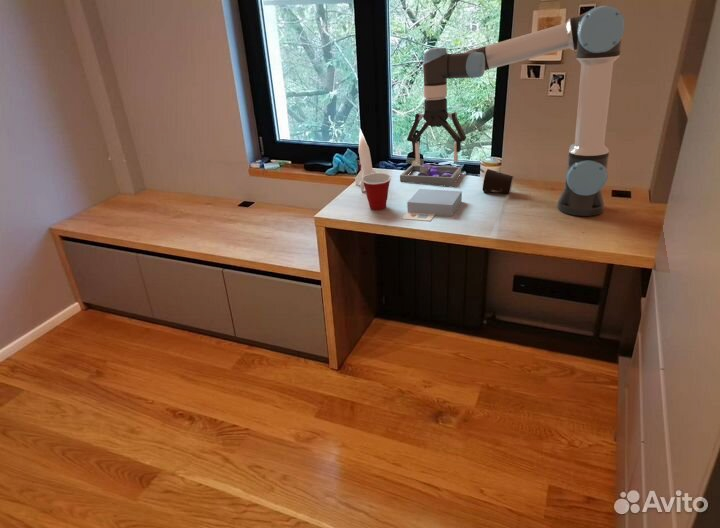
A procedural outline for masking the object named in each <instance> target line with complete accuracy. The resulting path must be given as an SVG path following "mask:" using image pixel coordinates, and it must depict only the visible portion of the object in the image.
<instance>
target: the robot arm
mask: <svg viewBox="0 0 720 528" xmlns="http://www.w3.org/2000/svg"><path fill="white" fill-rule="evenodd" d="M625 27H626V21H625V18H624V16H623V14H622V12H621V11H620V10H619V9H617V8H616V7H614V6H613V5H612V6H611V5H600V6H595V7H593V8H591V9H589V10H588V11H586V12H584V13H582V14H580V15H576V16H574V17H570V18H568V20H567V21H566V22H564V23H561V24H558V25H554V26H551V27H548V28H544V29H541V30H537V31H534V32H530V33H527V34H523V35H520V36H517V37H513V38H509V39H505V40H502V41H499V42H496V43H492V44H489V45H485V46H482V47H478V48H473V49H469V50H468V51H465V52H462V53H461V52H460V53H448V51H447V48H446V47H430V48H427V49H425V50H424V51H423V56H422V57H423V59H422V60H423V63H422V66H423V67H422V68H423V71H422V72H423V97H424V98H425V99H424V100H423V105H424V109H423V110H424V113H421V112H417V113H415V116H414V122H413V124H412V126H411V128H410V131H409V134H408V136H407V138H406V140H407V142H411V144H412V152H414V153H415V155H414V156H415V162H416V163H418V162H420V161H421V158H420V157H421V156H420V155H421V154H420V153H421V152H420V151H421V150H420V141H418V140H419V139H420V137H422V135H423V133H425V131H426V130H427V129H428V127H431V128H434V127H436V128H437V127H438V128H441V127H442V128H443V129H445V130H446V132H447V133H448V134H449V135H450V136H451V138H452V139H453V140H454V142H453V163H457V162H458V161H459V153H460V152H461V151H462V149H461V148H462V144H461V143H462V142H464V141H466V140H467V136H466V134H465V132H464V130H463V128H462V125H461V124H460V122H459V120H458V113H457V112H456V111H454V112H451V113H449V112H448V98H447V95H448V87H447V86H448V84H447V81H448V80H449V79H475V78H481V77H484V76H483V75H484V74H485V71H488V70H491V69H492V70H493V69H495V68H496V69H497V68H499V67H504V66H507V65H511V64H515V63H520V62H522V61H525V60H531V59H533V58H537V57H541V56H542V57H543V56H546V55H548V54H553V53H556V52H560V51H564V50H569V49H570V50H572V51H576V56H575V57H576V58H575V59H576V60H577V61H578V62H579V64H580V73H579V75H580V76H579V85H578V86H579V88H578V89H579V90H578V100H577V112H576V113H577V114H576V124H575V134H574V143H573V144H570V146H569V150H568V157H567V165H566V175H565V184H564V188H563V191H562V192H561V194H560V197H559V199H558V201H557V209H558V211H560V212H562V213H563V214H564V213H565V214H568V215H571V216H582V217H585V216H586V217H588V216H596V215H600V214H602V213H603V212H604V208H605V202H604V196H603V193H602V189H603V188H604V187H605V185H606V183H607V181H608V179H609V176H608V175H609V174H608V164H609V154H610V149H608V147H607V146H606V145H605V143H606V142H605V141H606V132H607V124H608V113H609V106H610V98H611V97H610V96H611V87H612V86H611V85H612V78H613V68H614V62H615V61H617V59H619V58H620V56H621V48H622V42H623V41H622V40H623V39H622V38H623V36H624V34H625V29H626V28H625ZM447 79H448V80H447ZM448 118H449V119H450V120H451V121H452V124H453V126H454V128H455V129H456V131H457V132H456V131H455V130H454V129H453V128H452V127H451V126H452V125H450V124H449V122H448V121H447V119H448ZM422 119H424V121H425V123H424V124H423V126H422V127H421V128H420V130H419V131H418V132H417V128H418V127H419V124H420V122H421V120H422ZM415 133H416V135H415ZM457 133H458V134H457ZM414 135H415V136H414Z"/></svg>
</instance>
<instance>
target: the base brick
mask: <svg viewBox="0 0 720 528" xmlns="http://www.w3.org/2000/svg"><path fill="white" fill-rule="evenodd" d="M462 193H463V192H462V190H446V189H445V190H444V189H431V188H430V189H429V188H427V189H426V188H418V189H417V191H416V192H415V193H414V194H413V195H412V197H411V198H409V200H407V206H406V208H407V212H411V213H424V214H435V216H445V217H453V215H454V214H455V213H456V211H457V210H458V208H459V206H460V205H461V203H462Z"/></svg>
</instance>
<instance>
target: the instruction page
mask: <svg viewBox="0 0 720 528" xmlns="http://www.w3.org/2000/svg"><path fill="white" fill-rule="evenodd" d="M435 216H436V215H435V214H424V213H411V212H408V211H407V212H406V214H404V216H403V217H402V218H401V219H402V220H411V221H420V222H421V221H423V222H424V221H425V222H431V221H432V220H433V218H434V217H435Z"/></svg>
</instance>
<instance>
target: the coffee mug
mask: <svg viewBox="0 0 720 528" xmlns="http://www.w3.org/2000/svg"><path fill="white" fill-rule="evenodd" d="M513 184H514V176H513V175H510V174H506V173H502V172H500V171H496V170H493V169H489V168H486V171H485V174H484V178H483V183H482V192H487V193H488V192H490V193H503V194H505V193H506V194H510V193H511V191H512V187H513Z"/></svg>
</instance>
